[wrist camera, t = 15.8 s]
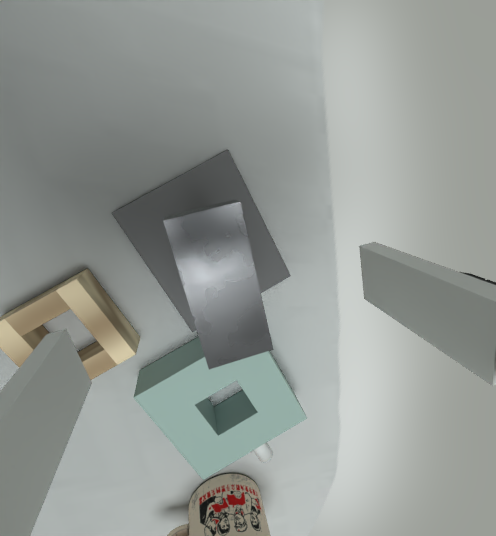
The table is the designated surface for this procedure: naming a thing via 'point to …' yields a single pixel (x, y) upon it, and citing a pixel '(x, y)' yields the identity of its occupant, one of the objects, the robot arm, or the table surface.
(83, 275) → the beige square frame
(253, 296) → the block
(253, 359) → the block
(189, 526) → the teacup with lid
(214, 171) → the mat
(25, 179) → the table surface
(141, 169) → the table surface
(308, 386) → the table surface
